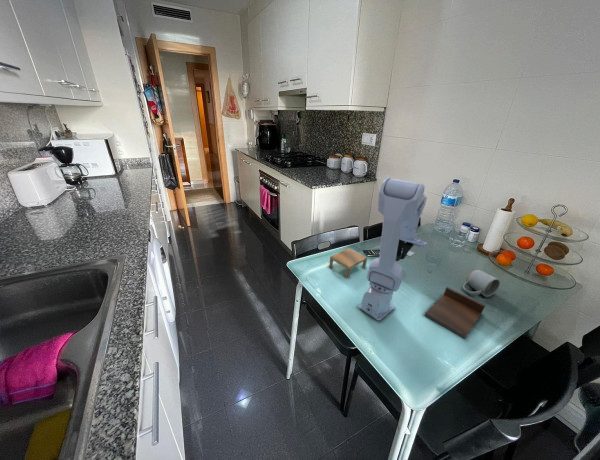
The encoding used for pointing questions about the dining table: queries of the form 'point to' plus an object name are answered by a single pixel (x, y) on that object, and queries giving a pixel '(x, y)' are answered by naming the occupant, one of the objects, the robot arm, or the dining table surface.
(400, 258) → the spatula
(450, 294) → the lower shelf
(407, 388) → the dining table surface
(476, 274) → the ceramic mug
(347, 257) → the upper shelf
